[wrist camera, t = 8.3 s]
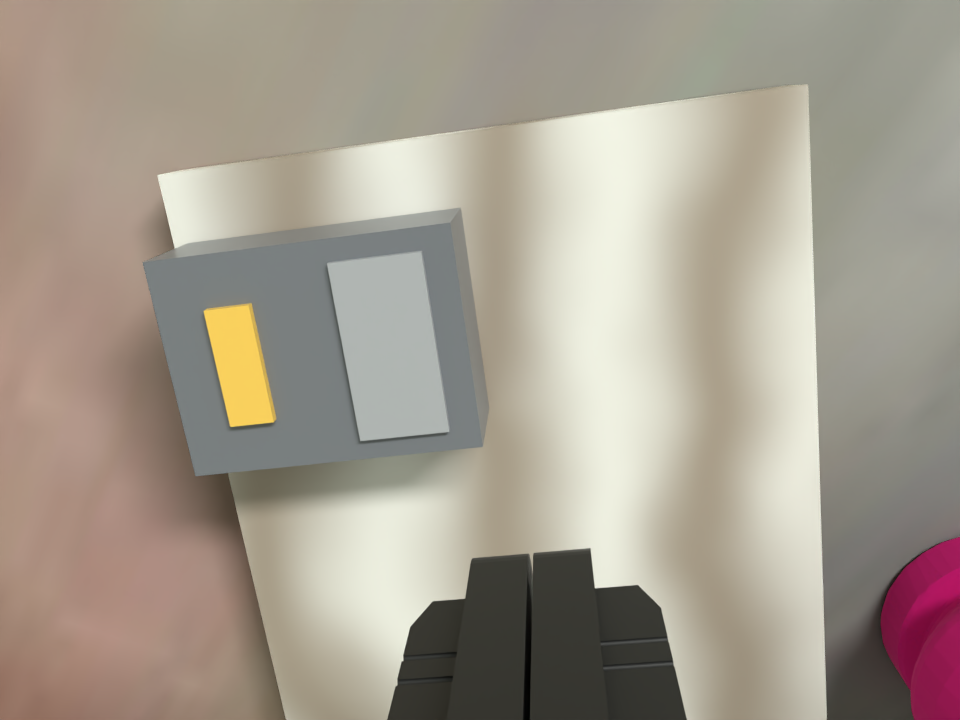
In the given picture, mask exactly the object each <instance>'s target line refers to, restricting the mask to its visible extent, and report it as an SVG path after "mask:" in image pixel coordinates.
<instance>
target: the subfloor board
mask: <svg viewBox="0 0 960 720" xmlns="http://www.w3.org/2000/svg"><path fill="white" fill-rule="evenodd" d="M158 180H159V184H160V188H161V192H162V197H163V201H164V205H165V209H166V214H167V218H168V222H169V226H170V231H171V235H172V239H173V243H174V247H175V248H178V247H180V246H182V245H185V244H187V243H193V242H201V241H209V240H216V239H224V238H232V237H239V236H247V235H255V234H262V233H270V232H278V231H285V230H293V229H301V228H308V227H316V226H324V225H331V224H339V223H347V222H354V221H362V220H370V219H377V218H385V217H393V216H400V215H408V214H416V213H423V212H431V211H439V210H446V209H454V208H461V212H462V219H463V226H464V233H465V240H466V247H467V254H468V261H469V269H470V276H471V283H472V290H473V297H474V304H475V311H476V318H477V325H478V332H479V339H480V346H481V353H482V360H483V367H484V374H485V381H486V389H487V396H488V403H489V413H488V419H487V425H486V432H485V438H484V444H483V447H478V448H468V449H458V450H449V451H439V452H429V453H419V454H409V455H399V456H390V457H380V458H370V459H360V460H350V461H340V462H331V463H321V464H311V465H301V466H291V467H281V468H272V469H262V470H252V471H242V472H232V473H228V476H229V480H230V485H231V489H232V493H233V497H234V502H235V506H236V510H237V514H238V519H239V523H240V527H241V531H242V536H243V540H244V544H245V548H246V552H247V557H248V561H249V565H250V569H251V574H252V578H253V582H254V586H255V591H256V595H257V599H258V603H259V608H260V612H261V616H262V620H263V625H264V629H265V633H266V637H267V641H268V646H269V650H270V654H271V658H272V663H273V667H274V671H275V675H276V680H277V684H278V688H279V692H280V697H281V701H282V705H283V709H284V713H285V718H286V720H387V718H388V714H389V710H390V706H391V702H392V698H393V694H394V690H395V686H397V678H398V674H399V670H400V666H401V662H402V661H403V654H404V650H405V646H406V642H407V638H408V634H409V630H410V627H411V625H412V624H413V623H414V622H415V621H416V620H417V619H418V617H419V616H420V615H421V614H422V613H423V612H424V611H425V609H426V608H427V607H428V606H429V605H430V604H431V603H432V602H433V601H442V600H455V599H465V596H466V590H467V583H468V577H469V570H470V564H471V560H472V558H479V557H491V556H503V555H516V554H528V553H529V555H530V559H531V564H532V571H533V553H537V552H549V551H561V550H573V549H586V548H591V557H592V566H593V576H594V585H595V588H606V587H618V586H631V585H639V586H640V587H641V588H642V589H643V590H644V591H645V592H646V593H647V594H648V595H649V596H650V597H651V598H652V599H653V600H654V601H655V602H656V603H657V604H658V605H659V606H660V607H661V610H662V614H663V619H664V623H665V627H666V632H667V636H668V642H669V645H670V649H671V653H672V658H673V664H674V667H675V671H676V675H677V679H678V684H679V688H680V692H681V697H682V701H683V705H684V710H685V714H686V718H687V720H827V705H826V671H825V638H824V604H823V571H822V537H821V503H820V470H819V436H818V403H817V369H816V336H815V302H814V269H813V235H812V201H811V168H810V134H809V101H808V85H786V86H779V87H772V88H764V89H757V90H750V91H743V92H736V93H729V94H721V95H714V96H707V97H700V98H693V99H686V100H678V101H671V102H664V103H657V104H650V105H643V106H635V107H628V108H621V109H614V110H607V111H600V112H592V113H585V114H578V115H571V116H564V117H557V118H549V119H542V120H535V121H528V122H521V123H514V124H506V125H499V126H492V127H485V128H478V129H471V130H463V131H456V132H449V133H442V134H435V135H428V136H420V137H413V138H406V139H399V140H392V141H385V142H377V143H370V144H363V145H356V146H349V147H342V148H334V149H327V150H320V151H313V152H306V153H299V154H291V155H284V156H277V157H270V158H263V159H256V160H248V161H241V162H234V163H227V164H220V165H213V166H205V167H198V168H191V169H184V170H179V171H175V172H170V173H165V174H160V175H158Z"/></svg>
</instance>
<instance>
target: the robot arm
mask: <svg viewBox="0 0 960 720" xmlns="http://www.w3.org/2000/svg"><path fill="white" fill-rule="evenodd" d="M387 720H687V718H686V714H685V710H684V705H683V701H682V697H681V692H680V688H679V684H678V679H677V675H676V671H675V667H674V664H673V658H672V653H671V649H670V645H669V642H668V636H667V632H666V627H665V623H664V619H663V614H662V610H661V607H660V606H659V605H658V604H657V603H656V602H655V601H654V600H653V599H652V598H651V597H650V596H649V595H648V594H647V593H646V592H645V591H644V590H643V589H642V588H641V587H640V586H639V585H631V586H618V587H606V588H595V585H594V576H593V566H592V557H591V548H586V549H573V550H561V551H549V552H537V553H533V571H532V564H531V559H530V555H529V553H528V554H516V555H503V556H491V557H479V558H472V560H471V564H470V570H469V577H468V583H467V590H466V596H465V599H455V600H442V601H433V602H432V603H431V604H430V605H429V606H428V607H427V608H426V609H425V611H424V612H423V613H422V614H421V615H420V616H419V617H418V619H417V620H416V621H415V622H414V623H413V624H412V625H411V627H410V630H409V634H408V638H407V642H406V646H405V650H404V654H403V661H402V662H401V666H400V670H399V674H398V678H397V686H395V690H394V694H393V698H392V702H391V706H390V710H389V714H388V718H387Z"/></svg>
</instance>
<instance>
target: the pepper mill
mask: <svg viewBox="0 0 960 720" xmlns="http://www.w3.org/2000/svg"><path fill="white" fill-rule="evenodd" d="M881 632H882V638H883V644H884V646H885V649H886V651H887V653H888V656H889V657H890V659H891V661H892V662H893V664H894V666H895V667H896V669H897V670H898V672H899V674H900V675H901V677H902V678H903V680H904V682H905V683H906V685H907V686H908V688H909V689H910V690H911V710H912V714H913V717H914V720H960V537H958V538H955V539H951V540H948V541H944V542H941V543H940V544H938V545H936V546H934V547H933V548H931V549H929V550H927V551H925V552H924V553H922V554H921V555H920V556H918V557H917V558H916V559H915V560H913V561H912V562H911V563H910V564H909V565H907V566H906V567H905V568H904V569H903V571H902V572H901V573H900V575H899V576H898V577H897V579H896V580H895V581H894V583H893V584H892V586H891V587H890V589H889V591H888V593H887V596H886V599H885V602H884V605H883V609H882V613H881Z"/></svg>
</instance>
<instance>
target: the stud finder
mask: <svg viewBox="0 0 960 720" xmlns="http://www.w3.org/2000/svg"><path fill="white" fill-rule="evenodd" d="M143 266H144V270H145V274H146V278H147V282H148V286H149V290H150V294H151V298H152V302H153V306H154V310H155V314H156V318H157V323H158V327H159V331H160V335H161V339H162V343H163V347H164V351H165V355H166V359H167V363H168V367H169V371H170V375H171V379H172V383H173V387H174V391H175V395H176V399H177V403H178V407H179V411H180V415H181V419H182V424H183V428H184V432H185V436H186V440H187V444H188V448H189V452H190V456H191V460H192V464H193V468H194V472H195V476H203V475H213V474H223V473H232V472H242V471H252V470H262V469H272V468H281V467H291V466H301V465H311V464H321V463H331V462H340V461H350V460H360V459H370V458H380V457H390V456H399V455H409V454H419V453H429V452H439V451H449V450H458V449H468V448H478V447H483V444H484V438H485V432H486V425H487V419H488V413H489V403H488V396H487V389H486V381H485V374H484V367H483V360H482V353H481V346H480V339H479V332H478V325H477V318H476V311H475V304H474V297H473V290H472V283H471V276H470V269H469V261H468V254H467V247H466V240H465V233H464V226H463V219H462V212H461V208H454V209H446V210H439V211H431V212H423V213H416V214H408V215H400V216H393V217H385V218H377V219H370V220H362V221H354V222H347V223H339V224H331V225H324V226H316V227H308V228H301V229H293V230H285V231H278V232H270V233H262V234H255V235H247V236H239V237H232V238H224V239H216V240H209V241H201V242H193V243H187V244H185V245H182V246H180V247H178V248H175V249H173V250H170V251H168V252H166V253H163V254H161V255H159V256H156V257H154V258H151V259H149V260H147V261H144V262H143Z"/></svg>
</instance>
